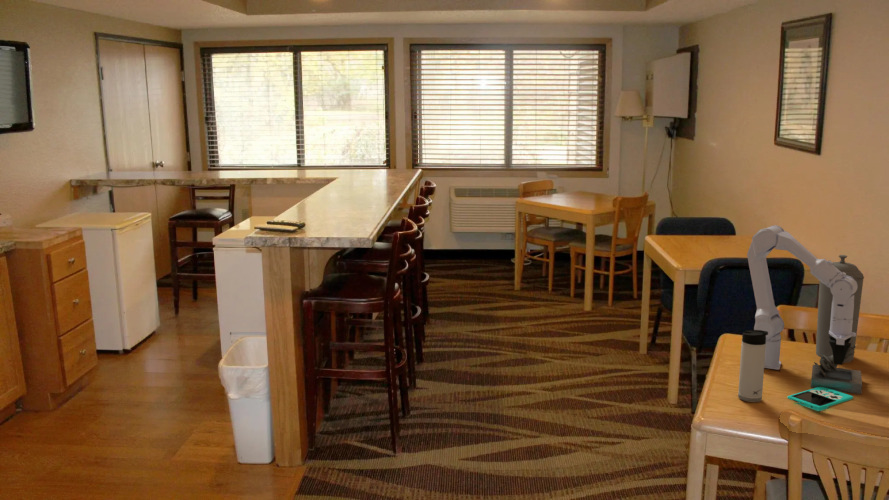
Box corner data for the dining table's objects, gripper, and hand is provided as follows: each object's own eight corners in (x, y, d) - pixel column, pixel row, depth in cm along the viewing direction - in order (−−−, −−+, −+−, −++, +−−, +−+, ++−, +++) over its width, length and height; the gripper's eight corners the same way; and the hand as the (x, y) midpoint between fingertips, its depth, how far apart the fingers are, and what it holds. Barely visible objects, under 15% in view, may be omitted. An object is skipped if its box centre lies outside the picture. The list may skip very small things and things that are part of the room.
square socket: (810, 387, 214) (811, 377, 213) (812, 373, 225) (812, 364, 224) (861, 394, 208) (862, 384, 207) (860, 380, 219) (860, 370, 218)
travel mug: (761, 404, 201) (766, 335, 198) (736, 399, 205) (740, 331, 201) (764, 397, 206) (769, 329, 203) (740, 392, 210) (744, 326, 206)
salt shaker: (829, 380, 214) (865, 357, 210) (816, 366, 214) (852, 342, 210) (823, 372, 220) (858, 350, 216) (810, 358, 219) (846, 335, 216)
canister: (864, 365, 232) (875, 258, 226) (826, 366, 232) (836, 259, 226) (840, 353, 245) (850, 251, 239) (804, 354, 244) (812, 252, 238)
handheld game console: (854, 400, 205) (854, 395, 205) (819, 411, 197) (820, 407, 197) (820, 389, 213) (821, 385, 213) (786, 400, 206) (786, 395, 205)
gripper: (858, 325, 205) (854, 371, 207) (856, 313, 217) (853, 356, 219) (829, 322, 208) (826, 367, 210) (830, 310, 220) (826, 353, 223)
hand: (838, 361), depth 215 cm, fingers closed on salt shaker, 4 cm apart
